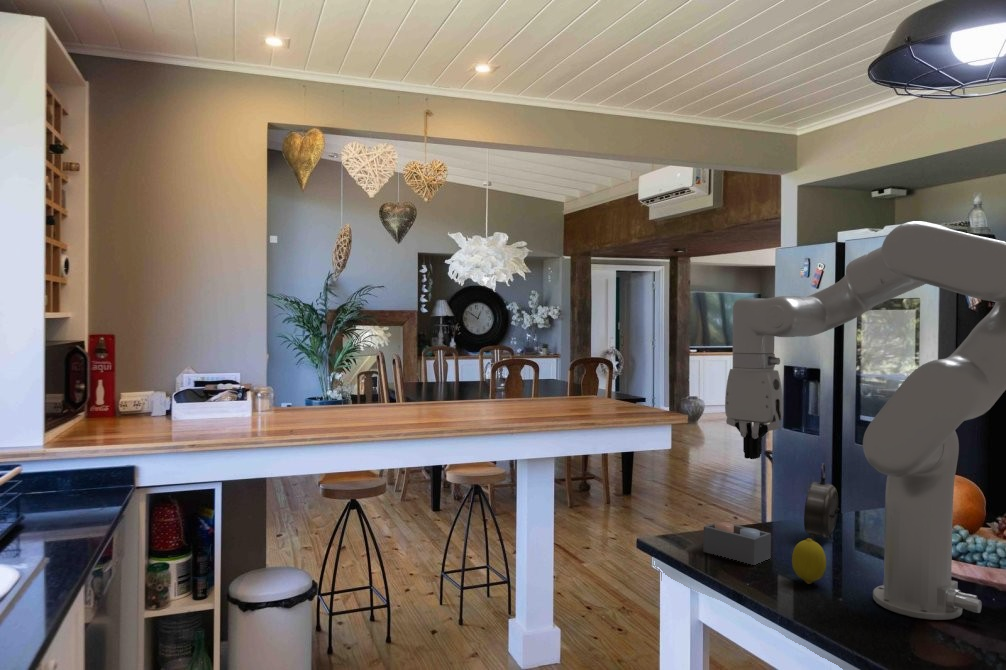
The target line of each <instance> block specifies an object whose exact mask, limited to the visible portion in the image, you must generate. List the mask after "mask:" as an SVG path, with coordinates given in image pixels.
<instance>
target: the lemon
mask: <svg viewBox="0 0 1006 670" xmlns="http://www.w3.org/2000/svg"><path fill="white" fill-rule="evenodd" d="M791 557H792V558H791V565H792V569H793V571H794V573H795V574H796V576H797V577H798V578H800V579H801V580H804V582H805V583H806V584H808V585H811V584H812V583H813V582H816V581H819V580H820V579H821V578H822V577H823V576H824V574H825V572H826V569H827V556H826V552H825V551H824V548H823V547H822V546H821V545H820V544H819V543H818V542H816V540H814V541H813V540H812V539H811V537H810V538H809V537H808V538H806V539H804V540H801V541H799V542H798V543H797V544H795V546H794V548H793V552H792V555H791Z"/></svg>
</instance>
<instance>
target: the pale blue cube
mask: <svg viewBox="0 0 1006 670" xmlns="http://www.w3.org/2000/svg"><path fill="white" fill-rule="evenodd" d="M760 531H761V530H759V529H757V528H751V527H747V528H742V529H740V535H744V536H748V537H752V538H756V537H759V536H760Z"/></svg>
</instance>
